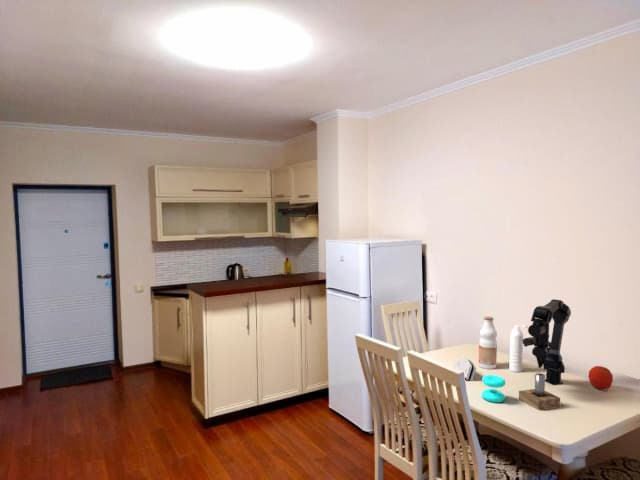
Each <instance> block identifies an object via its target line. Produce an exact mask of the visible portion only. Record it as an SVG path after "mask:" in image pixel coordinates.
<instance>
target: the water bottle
mask: <svg viewBox="0 0 640 480" xmlns="http://www.w3.org/2000/svg"><path fill="white" fill-rule="evenodd" d="M521 327H522V328H523V329H526V328H527V329H528V325H527V324H526V325H525V324H522V325H521ZM523 339H524V334H523V332H522V330H521V329H520V325H518V324H517V325H514V328H512V330H511V332H510V333H509V359H508V361H509V363H508V364H509V365H508V370H509V371H511V372H513V373H521V372H522V371H523V350H524V349H523V347H524V344H523V341H522V340H523Z"/></svg>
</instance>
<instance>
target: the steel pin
mask: <svg viewBox="0 0 640 480" xmlns="http://www.w3.org/2000/svg"><path fill="white" fill-rule="evenodd" d="M534 376H535V377H534V389H535V396H537V397H544V391H546V389H545V385H546V384H545V383H546V381H545V379H546V374H543V373H540V372H539V373H538V372H537V373H534Z"/></svg>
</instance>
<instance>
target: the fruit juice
mask: <svg viewBox="0 0 640 480" xmlns="http://www.w3.org/2000/svg"><path fill="white" fill-rule="evenodd" d="M483 320H484V323H483V325H482V327H481V329H480V330H479V337H480V338H479V341H478V366H479V367H480V368H481V369H485V370H493V369H496V368H497V357H498V356H497V354H498V349H497V348H498V343H497V336H498V333H497V330H496V327H495V325H494V317H492V316H484V317H483Z"/></svg>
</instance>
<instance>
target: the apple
mask: <svg viewBox="0 0 640 480" xmlns="http://www.w3.org/2000/svg"><path fill="white" fill-rule="evenodd" d="M613 378H614V375H613V374H612V372H611V370H610V369H608V368H607V367H605V366H602V365H600V366H599V365H595V366H593V367H591V368H590V369H589V371H588V380H589V383H590V385H591V386H592V387H593V388H594V389H596V390H599V389H600V391H606V390H608V389H610V388H611V386H612V383H613V381H614V379H613ZM605 389H606V390H605Z"/></svg>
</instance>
